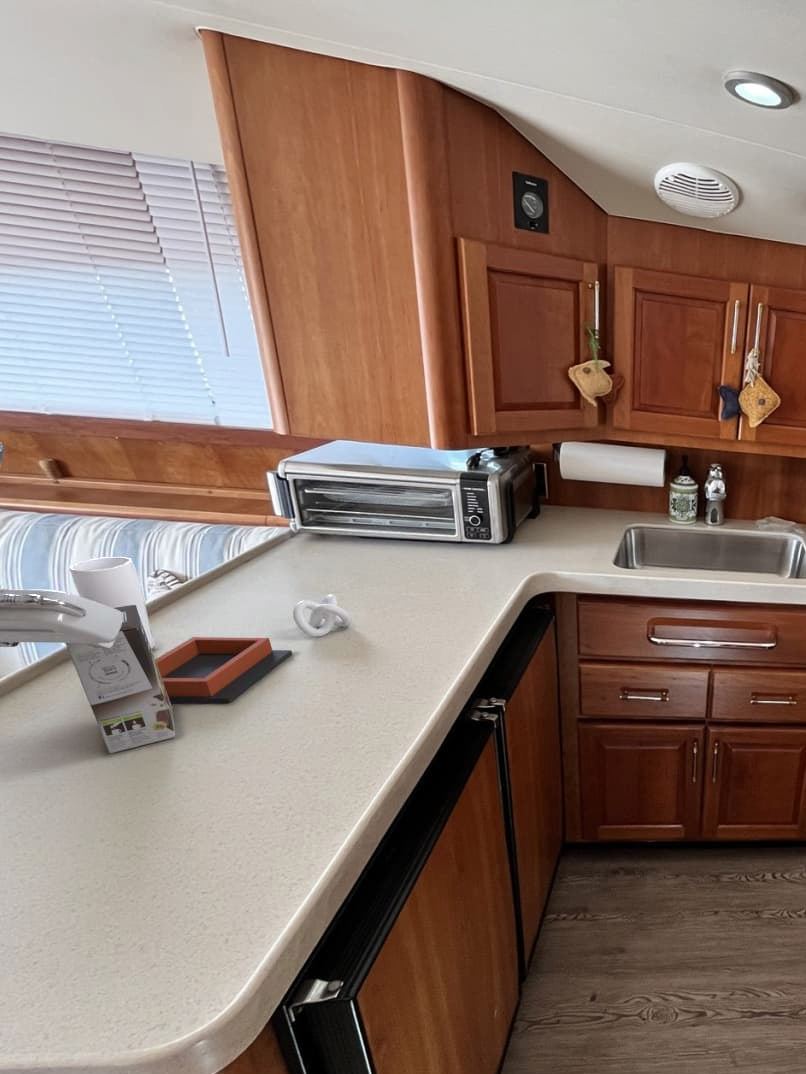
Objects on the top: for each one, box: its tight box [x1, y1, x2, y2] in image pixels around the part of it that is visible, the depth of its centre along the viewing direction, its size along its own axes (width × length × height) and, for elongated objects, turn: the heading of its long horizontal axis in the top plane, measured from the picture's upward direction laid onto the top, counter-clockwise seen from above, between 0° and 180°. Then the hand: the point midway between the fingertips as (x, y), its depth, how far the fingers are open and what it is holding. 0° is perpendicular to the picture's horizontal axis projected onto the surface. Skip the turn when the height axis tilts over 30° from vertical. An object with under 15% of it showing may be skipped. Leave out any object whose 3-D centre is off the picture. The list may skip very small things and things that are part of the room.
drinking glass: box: [69, 556, 156, 650], centre depth 99 cm, size 7×7×15 cm
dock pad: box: [155, 636, 293, 704], centre depth 96 cm, size 16×15×3 cm
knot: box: [292, 593, 353, 638], centre depth 113 cm, size 8×8×6 cm
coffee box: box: [65, 605, 176, 754], centre depth 81 cm, size 9×6×16 cm
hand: (60, 641), depth 73 cm, fingers open, 8 cm apart
